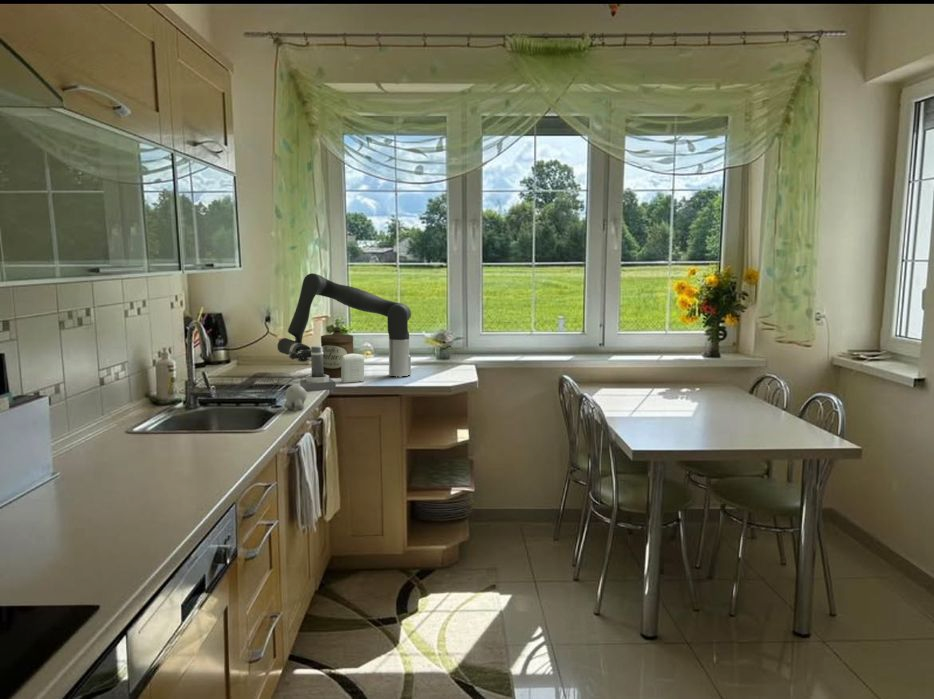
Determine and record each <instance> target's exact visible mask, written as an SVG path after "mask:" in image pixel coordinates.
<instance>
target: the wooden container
mask: <svg viewBox="0 0 934 699" xmlns="http://www.w3.org/2000/svg"><path fill="white" fill-rule="evenodd" d="M341 330H342V329H341V328H340V327H337V326H336V327H334V328H333V329H332V331H333V333H331V334H324V335H321V336H320V346H322V347H323V351H324V352H325V353H324V356H325V357H324V358H323V369H324V375H329V378H336V379H337V378H339V377H340V378H341V359H342V356H344V355H347V354H355V353H354V352H355V351H354V335H352V334H346V333H345V334H342V333H341Z"/></svg>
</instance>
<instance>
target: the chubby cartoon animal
mask: <svg viewBox="0 0 934 699" xmlns="http://www.w3.org/2000/svg"><path fill="white" fill-rule="evenodd" d="M284 395H285V396H284V397H285V402H284V404H283V407H284V408H286V409H287V410H290V411H291V410H295V408H296V410H299V411H302V410H304V408H305V406H304V404H305V401H306V399H307V391H306V390H305V389H304V388H303V387H301V386H300V384H299V385H298V384H295V385H291V386H289V387H288V388H287V389H286V391H285V394H284Z"/></svg>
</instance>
